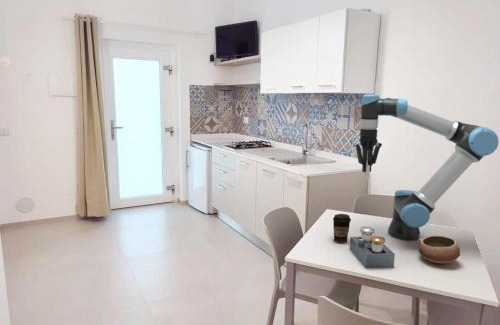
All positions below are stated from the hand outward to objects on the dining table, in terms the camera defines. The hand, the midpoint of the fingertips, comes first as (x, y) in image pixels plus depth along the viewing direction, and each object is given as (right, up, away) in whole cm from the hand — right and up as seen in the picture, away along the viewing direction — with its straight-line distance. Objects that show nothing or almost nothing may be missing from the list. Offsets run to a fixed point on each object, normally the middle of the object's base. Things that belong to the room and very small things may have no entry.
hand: (366, 178), depth 177 cm
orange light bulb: (-1, -34, -18) cm, 39 cm away
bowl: (+26, -35, -14) cm, 46 cm away
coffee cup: (-11, -31, +6) cm, 33 cm away
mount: (-2, -34, -12) cm, 36 cm away
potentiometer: (-6, -28, -14) cm, 32 cm away
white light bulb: (-2, -32, -7) cm, 33 cm away
